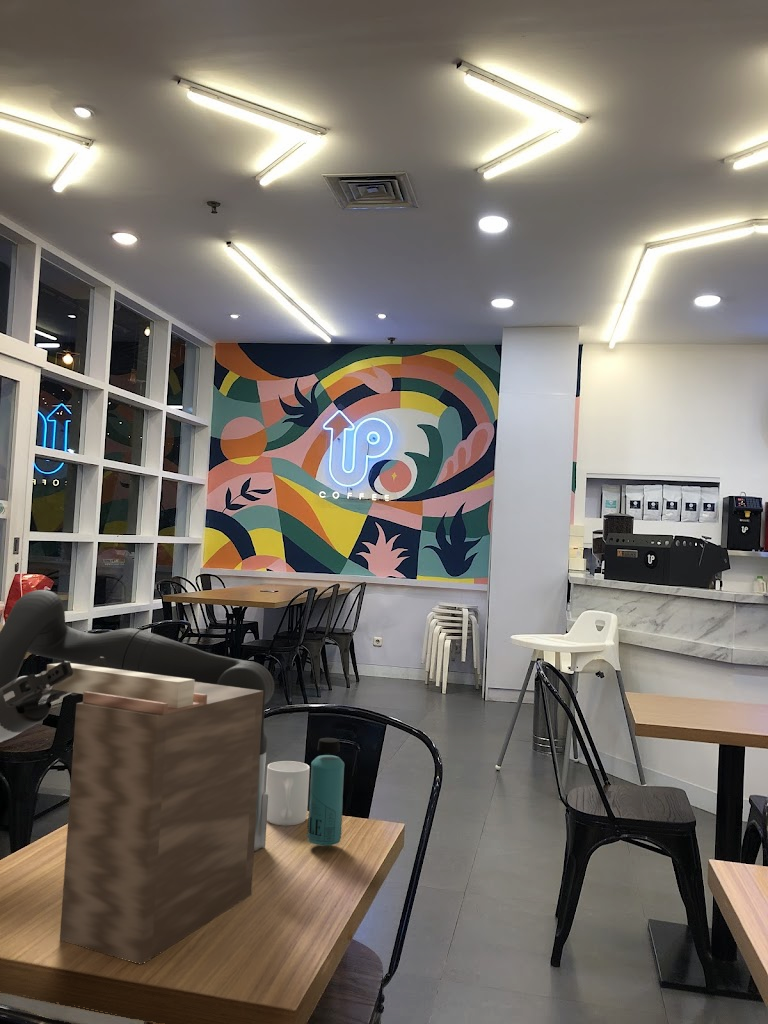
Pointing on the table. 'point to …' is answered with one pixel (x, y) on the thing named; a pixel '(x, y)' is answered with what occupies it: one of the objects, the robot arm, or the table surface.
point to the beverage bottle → (326, 795)
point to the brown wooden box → (159, 817)
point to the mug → (287, 792)
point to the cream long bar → (128, 684)
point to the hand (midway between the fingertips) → (87, 664)
